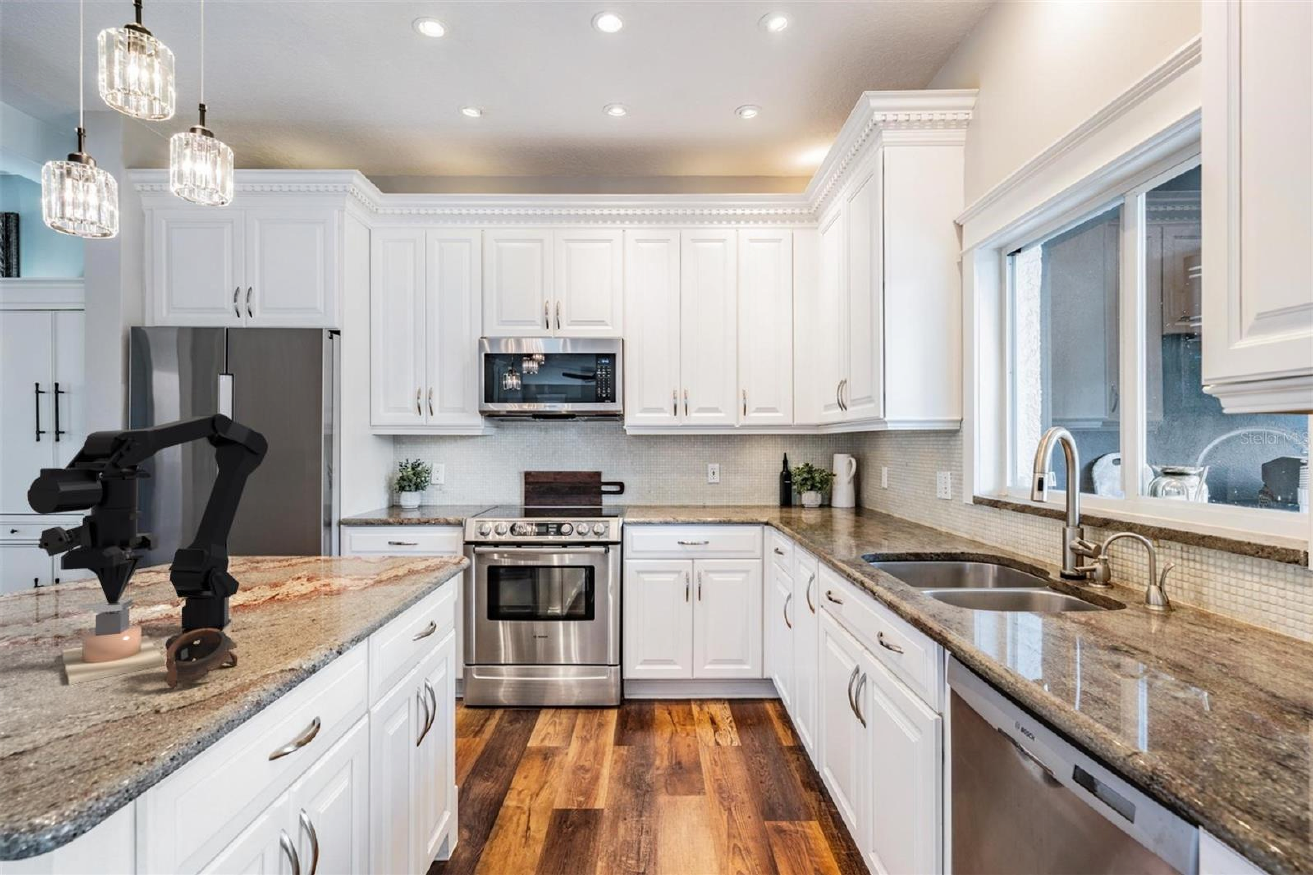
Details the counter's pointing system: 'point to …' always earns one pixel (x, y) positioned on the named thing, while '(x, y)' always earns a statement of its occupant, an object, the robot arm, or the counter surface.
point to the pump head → (107, 606)
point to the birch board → (110, 663)
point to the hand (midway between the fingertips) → (113, 602)
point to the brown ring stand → (197, 654)
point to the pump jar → (111, 638)
